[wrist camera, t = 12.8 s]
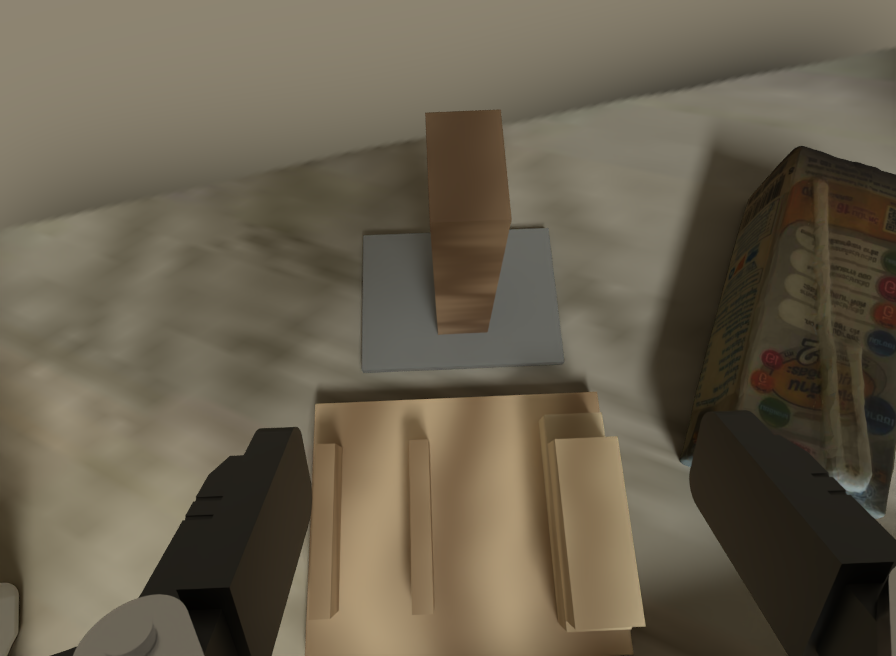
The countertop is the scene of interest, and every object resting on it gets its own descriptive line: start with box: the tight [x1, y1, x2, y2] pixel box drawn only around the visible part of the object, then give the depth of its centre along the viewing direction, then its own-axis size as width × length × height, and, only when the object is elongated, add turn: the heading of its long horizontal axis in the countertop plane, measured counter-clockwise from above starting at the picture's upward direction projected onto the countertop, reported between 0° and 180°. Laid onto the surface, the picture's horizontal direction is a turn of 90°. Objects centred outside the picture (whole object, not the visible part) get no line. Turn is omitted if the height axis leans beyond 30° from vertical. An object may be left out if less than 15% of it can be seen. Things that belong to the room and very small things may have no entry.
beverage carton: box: [680, 146, 896, 518], centre depth 29 cm, size 8×19×7 cm, turn 157°
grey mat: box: [362, 228, 564, 373], centre depth 32 cm, size 12×9×1 cm
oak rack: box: [305, 392, 646, 656], centre depth 26 cm, size 16×13×5 cm
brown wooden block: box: [425, 110, 512, 335], centre depth 26 cm, size 3×5×13 cm, turn 3°
